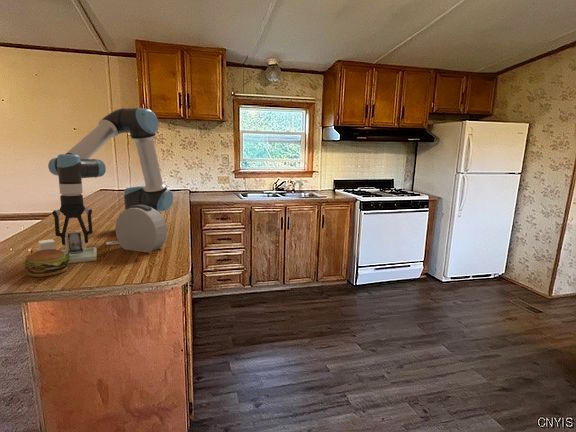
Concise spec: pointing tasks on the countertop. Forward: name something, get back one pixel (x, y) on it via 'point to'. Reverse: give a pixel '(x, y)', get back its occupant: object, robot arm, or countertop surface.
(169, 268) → the countertop surface
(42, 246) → the cream block
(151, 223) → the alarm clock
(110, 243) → the label tile
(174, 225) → the countertop surface
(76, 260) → the tray
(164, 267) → the countertop surface
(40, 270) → the food
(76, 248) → the metal door knob
